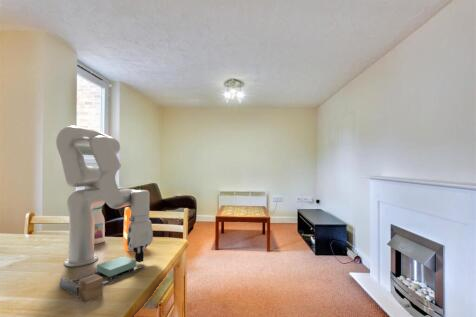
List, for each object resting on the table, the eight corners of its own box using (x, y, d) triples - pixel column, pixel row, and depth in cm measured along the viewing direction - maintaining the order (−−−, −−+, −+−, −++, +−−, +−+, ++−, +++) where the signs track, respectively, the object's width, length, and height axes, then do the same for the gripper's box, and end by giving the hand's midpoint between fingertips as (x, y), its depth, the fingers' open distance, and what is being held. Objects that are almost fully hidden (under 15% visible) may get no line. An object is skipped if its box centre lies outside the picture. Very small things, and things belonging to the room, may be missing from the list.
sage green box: (96, 275, 96) (97, 264, 96) (123, 265, 105) (123, 256, 105) (109, 281, 91) (109, 270, 91) (136, 270, 100) (136, 260, 101)
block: (78, 298, 80) (78, 279, 80) (94, 291, 84) (94, 273, 84) (86, 303, 77) (86, 283, 77) (102, 296, 81) (102, 277, 81)
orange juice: (144, 248, 127) (145, 209, 128) (126, 251, 122) (126, 210, 123) (141, 244, 134) (141, 207, 134) (123, 247, 129) (124, 208, 129)
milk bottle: (92, 240, 140) (93, 204, 141) (106, 239, 141) (107, 204, 141) (85, 244, 132) (86, 207, 133) (100, 244, 133) (101, 206, 134)
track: (60, 286, 87) (60, 278, 87) (127, 262, 109) (127, 255, 109) (76, 296, 80) (76, 287, 80) (144, 268, 102) (144, 261, 102)
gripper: (129, 223, 99) (128, 269, 99) (159, 216, 112) (159, 257, 111) (118, 220, 103) (117, 265, 103) (148, 214, 116) (148, 254, 115)
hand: (139, 261), depth 107 cm, fingers closed
